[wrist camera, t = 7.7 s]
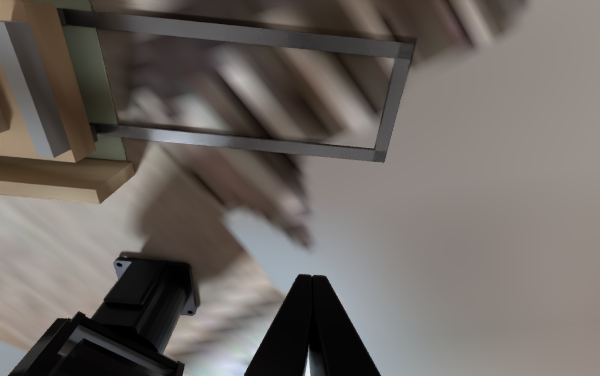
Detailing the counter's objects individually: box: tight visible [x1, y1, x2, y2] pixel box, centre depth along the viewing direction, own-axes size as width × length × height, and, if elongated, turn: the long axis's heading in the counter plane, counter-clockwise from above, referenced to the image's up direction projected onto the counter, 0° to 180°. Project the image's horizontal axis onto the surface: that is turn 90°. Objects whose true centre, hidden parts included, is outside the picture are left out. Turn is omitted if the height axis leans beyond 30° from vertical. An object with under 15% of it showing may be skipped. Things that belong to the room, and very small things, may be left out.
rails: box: [62, 8, 415, 162], centre depth 18 cm, size 7×28×1 cm, turn 85°
